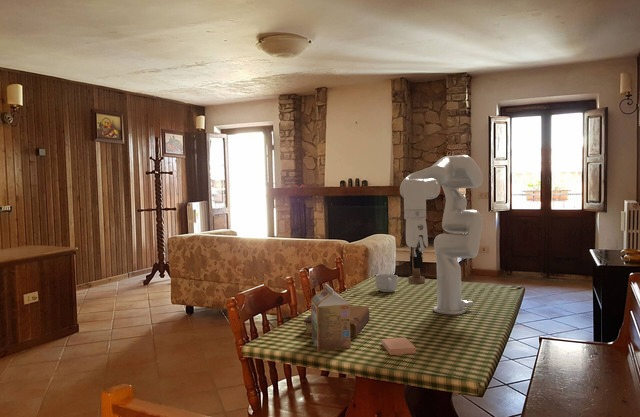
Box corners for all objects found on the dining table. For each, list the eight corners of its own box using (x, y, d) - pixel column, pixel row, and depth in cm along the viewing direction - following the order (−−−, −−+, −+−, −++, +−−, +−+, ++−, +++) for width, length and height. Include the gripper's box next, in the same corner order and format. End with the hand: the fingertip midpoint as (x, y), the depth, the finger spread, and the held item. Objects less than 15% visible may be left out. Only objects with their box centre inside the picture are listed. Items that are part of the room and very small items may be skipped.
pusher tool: (421, 280, 167) (420, 241, 166) (427, 284, 161) (426, 243, 160) (406, 281, 166) (405, 242, 165) (411, 285, 160) (410, 244, 160)
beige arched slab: (356, 340, 158) (355, 323, 158) (304, 336, 164) (303, 320, 164) (369, 321, 180) (369, 306, 180) (323, 318, 186) (322, 304, 186)
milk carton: (350, 347, 149) (349, 288, 149) (318, 350, 147) (316, 291, 146) (342, 337, 160) (340, 282, 159) (311, 340, 158) (310, 284, 157)
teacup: (376, 288, 236) (375, 273, 236) (397, 288, 235) (397, 273, 234) (375, 295, 222) (375, 278, 222) (398, 295, 221) (398, 278, 221)
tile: (405, 337, 153) (415, 347, 143) (405, 344, 153) (415, 354, 143) (381, 339, 152) (390, 349, 142) (381, 345, 152) (390, 356, 142)
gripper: (434, 215, 155) (435, 270, 156) (417, 213, 171) (418, 263, 172) (412, 216, 154) (414, 272, 155) (397, 214, 170) (398, 264, 171)
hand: (416, 266), depth 163 cm, fingers closed on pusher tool, 2 cm apart
